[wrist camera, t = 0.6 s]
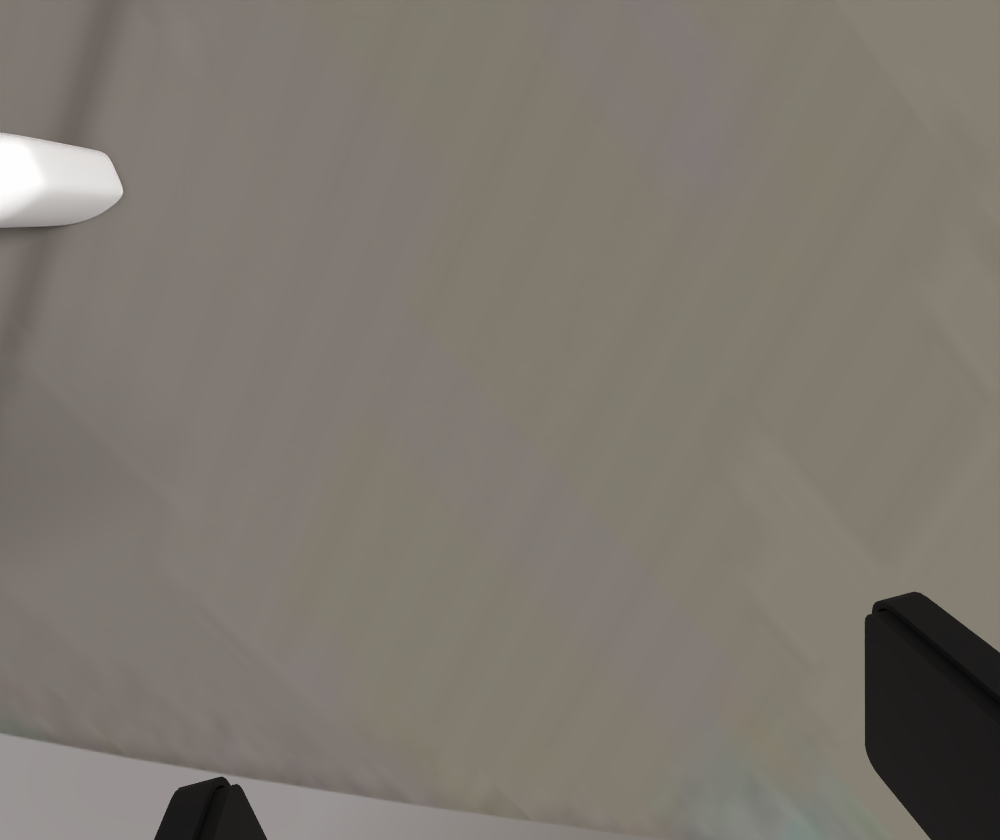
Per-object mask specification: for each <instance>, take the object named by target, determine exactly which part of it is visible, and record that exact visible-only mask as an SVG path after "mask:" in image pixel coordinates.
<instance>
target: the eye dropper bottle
mask: <svg viewBox="0 0 1000 840" xmlns="http://www.w3.org/2000/svg"><path fill="white" fill-rule="evenodd" d="M122 194H123V189H122V185H121V182H120V180H119V178H118V175H117V173H116V171H115V169H114V166H113V164H112V162H111V160H110V159H109V157H108V156H107V155H106V154H104V153H102V152H101V151H97V150H93V149H88V148H83V147H78V146H73V145H68V144H63V143H57V142H52V141H47V140H42V139H37V138H31V137H26V136H19V135H13V134H7V133H0V228H10V227H40V226H61V225H69V224H74V223H78V222H82V221H85V220H88V219H91V218H93V217H95V216H97V215H99V214H101V213H103V212H104V211H106V210H107V209H109V208H110V207H111V206H113V205H114V204H115V203H116V202H117V201H118V200H119V199H120V198H121V196H122Z"/></svg>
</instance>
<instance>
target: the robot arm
mask: <svg viewBox="0 0 1000 840" xmlns="http://www.w3.org/2000/svg"><path fill="white" fill-rule="evenodd" d="M865 747H866V752H867V755H868V758H869V760H870V762H871V764H872V766H873V768H874V769H875V771H876V772H877V774H878V775H879V776H880V777H881V779H882V780H883V781H884V782H885V784H886V785H887V786H888V787H889V789H890V790H891V791H892V792H893V793H894V795H895V796H896V797H897V798H898V800H899V801H900V802H901V803H902V805H903V806H904V807H905V808H906V809H907V811H908V812H909V813H910V814H911V816H912V817H913V818H914V819H915V821H916V822H917V823H918V824H919V825H920V827H921V828H922V829H923V830H924V832H925V833H926V834H927V835H928V837H929V838H930V839H931V840H1000V653H999V652H998V651H997V650H996V649H994V648H993V647H992V646H990V645H989V644H988V643H986V642H985V641H984V640H982V639H981V638H980V637H979V636H977V635H976V634H975V633H973V632H972V631H971V630H969V629H968V628H967V627H965V626H964V625H963V624H962V623H960V622H959V621H958V620H956V619H955V618H954V617H952V616H951V615H950V614H948V613H947V612H946V611H945V610H943V609H942V608H941V607H939V606H938V605H937V604H935V603H934V602H933V601H931V600H930V599H929V598H928V597H926V596H924V595H923V594H921V593H918V592H911V593H907V594H903V595H900V596H896V597H892V598H888V599H885V600H881V601H878V602H875V604H874V605H873V609H872V614H870V615H867V617H866V618H865ZM154 840H267V838H266V836H265V834H264V832H263V830H262V829H261V826H260V824H259V822H258V820H257V818H256V816H255V814H254V812H253V810H252V808H251V806H250V804H249V802H248V800H247V798H246V796H245V793H244V791H243V789H242V788H241V787H240V785H238V784H235V785H232V786H231V785H230V784H229V782H228V781H227V779H225V778H224V777H218V778H214V779H211V780H207V781H203V782H199V783H196V784H192V785H188V786H185V787H180V788H179V789H178V790H177V791H176V792H175V793H174V795H173V797H172V798H171V800H170V803H169V805H168V808H167V810H166V812H165V815H164V817H163V820H162V822H161V825H160V827H159V829H158V832H157V834H156V836H155V839H154Z"/></svg>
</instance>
